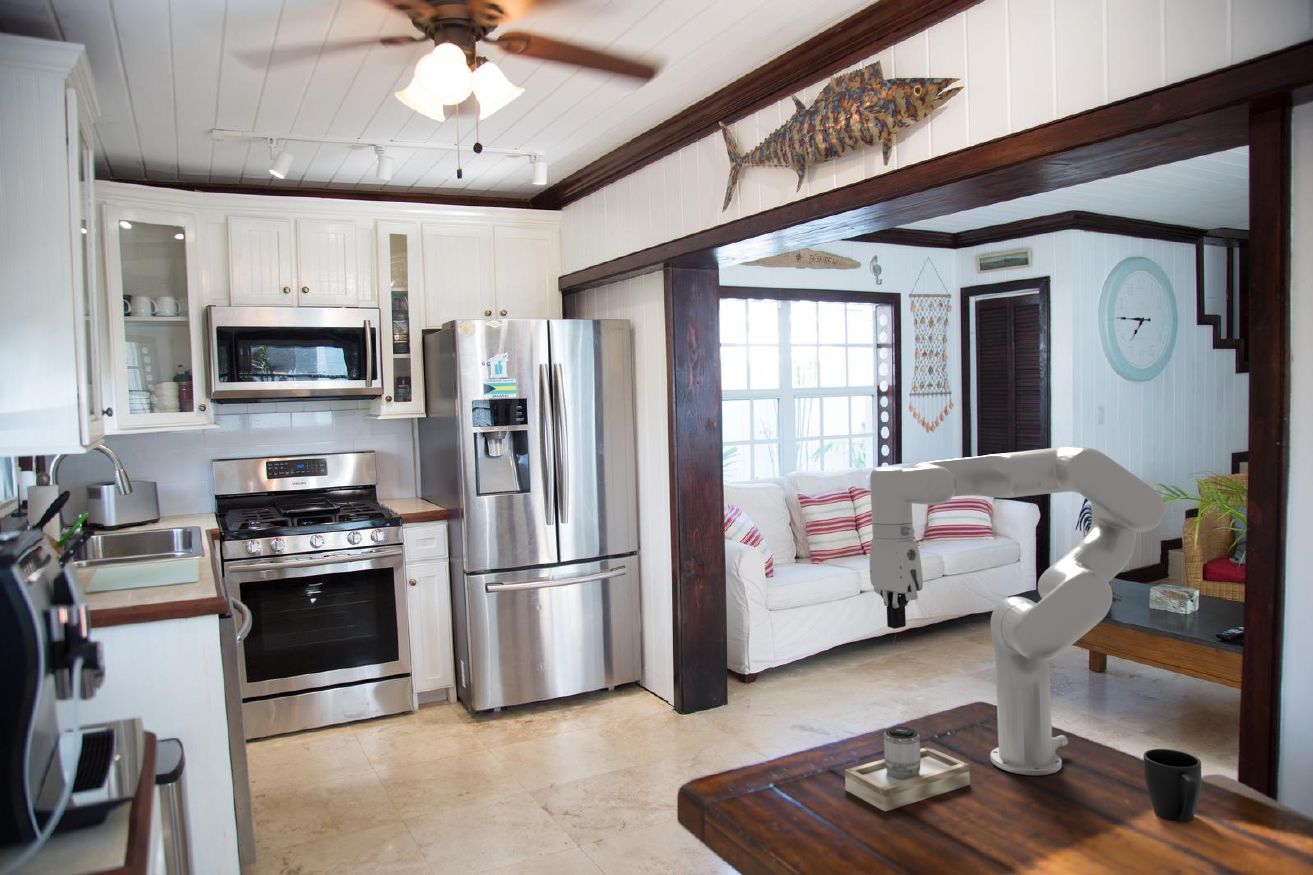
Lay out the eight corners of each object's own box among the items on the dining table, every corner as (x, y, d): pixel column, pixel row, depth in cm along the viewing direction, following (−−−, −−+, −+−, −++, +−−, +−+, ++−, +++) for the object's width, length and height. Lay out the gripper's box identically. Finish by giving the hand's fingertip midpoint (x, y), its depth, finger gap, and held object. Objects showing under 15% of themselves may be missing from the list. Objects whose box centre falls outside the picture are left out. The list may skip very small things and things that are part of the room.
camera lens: (919, 782, 156) (917, 737, 156) (882, 778, 159) (881, 734, 158) (922, 768, 162) (921, 725, 162) (887, 764, 164) (886, 722, 164)
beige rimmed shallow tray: (928, 765, 170) (927, 746, 170) (969, 784, 161) (969, 764, 161) (845, 790, 161) (844, 770, 161) (885, 811, 152) (884, 790, 151)
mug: (1163, 836, 139) (1161, 776, 138) (1138, 803, 150) (1136, 747, 150) (1221, 839, 137) (1219, 778, 137) (1191, 805, 149) (1189, 749, 149)
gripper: (936, 533, 164) (940, 631, 165) (880, 526, 178) (884, 617, 178) (905, 537, 161) (910, 637, 161) (851, 530, 174) (855, 622, 175)
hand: (896, 626), depth 170 cm, fingers closed
